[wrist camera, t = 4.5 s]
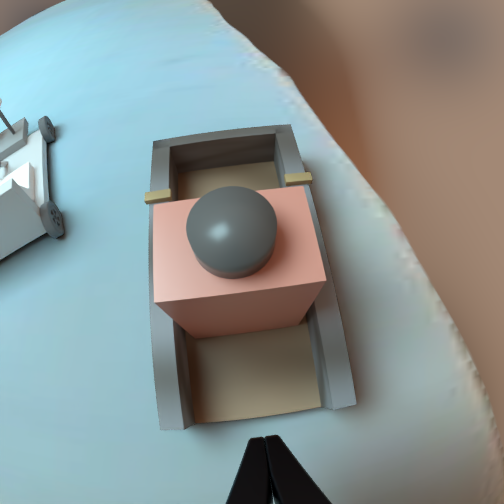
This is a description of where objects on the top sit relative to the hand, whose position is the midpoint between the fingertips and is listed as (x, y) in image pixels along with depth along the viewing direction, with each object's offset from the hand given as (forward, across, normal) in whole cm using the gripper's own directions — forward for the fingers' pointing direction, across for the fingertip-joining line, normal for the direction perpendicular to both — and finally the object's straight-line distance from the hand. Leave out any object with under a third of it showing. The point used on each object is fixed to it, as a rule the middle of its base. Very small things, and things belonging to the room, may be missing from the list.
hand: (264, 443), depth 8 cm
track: (+13, 0, +1) cm, 13 cm away
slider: (+11, 0, +1) cm, 11 cm away
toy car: (+22, +22, -7) cm, 32 cm away
